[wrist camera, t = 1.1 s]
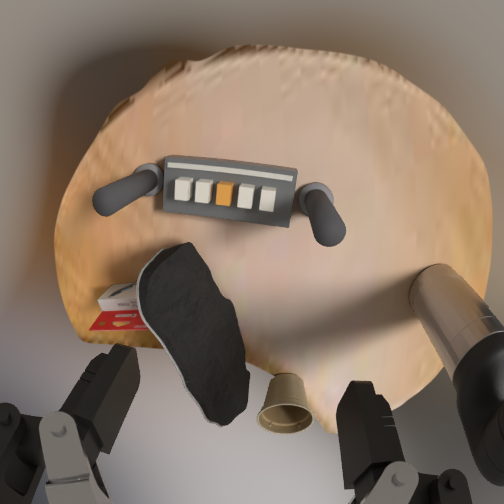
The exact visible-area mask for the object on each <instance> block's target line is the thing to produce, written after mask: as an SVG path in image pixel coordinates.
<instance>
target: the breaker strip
mask: <svg viewBox="0 0 504 504" xmlns="http://www.w3.org/2000/svg"><path fill="white" fill-rule="evenodd" d="M297 173H298V171H297V169H295V168H289V167H282V166H275V165H268V164H260V163H252V162H244V161H235V160H226V159H216V158H206V157H194V156H181V155H170V156H167V157H165V167H164V190H163V211H165V212H173V213H181V214H189V215H198V216H205V217H213V218H221V219H229V220H236V221H243V222H251V223H258V224H265V225H272V226H279V227H286V228H289V223H290V217H291V211H292V205H293V199H294V192H295V186H296V180H297Z"/></svg>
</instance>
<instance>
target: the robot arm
mask: <svg viewBox="0 0 504 504" xmlns="http://www.w3.org/2000/svg"><path fill="white" fill-rule="evenodd" d="M409 301H410V304H411V307H412V308H413V310H414V312H415V314H416V315H417V317H418V319H419V321H420V322H421V324H422V326H423V328H424V329H425V331H426V333H427V335H428V337H429V338H430V340H431V342H432V344H433V346H434V347H435V349H436V351H437V353H438V355H439V357H440V359H441V361H442V363H443V365H444V366H445V368H446V370H447V372H448V374H449V376H450V378H451V380H452V382H453V385H454V387H455V389H456V392H457V409H458V413H459V416H460V419H461V422H462V425H463V428H464V431H465V434H466V437H467V440H468V444H469V447H470V450H471V453H472V456H473V458H474V461H475V463H476V465H477V467H478V469H479V471H480V473H481V474H482V475H483V477H485V479H487V481H489V482H490V483H492V484H494V485H497V486H504V326H503V325H502V324H501V322H500V321H499V320H498V319H497V318H496V316H495V315H494V314H493V313H492V312H491V310H490V309H489V307H488V305H487V304H486V303H485V302H484V301H483V300H482V298H481V297H480V296H479V295H478V294H477V293H476V292H475V291H474V289H473V288H472V287H471V286H470V285H469V284H468V283H467V282H466V281H465V280H464V279H463V278H462V277H461V276H459V275H458V274H457V272H456V271H455V270H454V269H453V268H451V267H450V266H448V265H445V264H436V265H433V266H431V267H429V268H427V269H425V270H424V271H423V272H421V273H420V274H419V276H418V277H417V278H416V279H415V281H414V282H413V284H412V286H411V289H410V293H409ZM139 384H140V370H139V365H138V358H137V353H136V349H135V348H133V347H129V346H126V345H122V344H118V343H116V344H115V345H114V346H113V347H112V349H111V350H110V352H109V354H104V353H101V354H99V355H98V356H96V357H95V358H94V359H92V360H91V361H90V363H89V365H88V366H87V368H86V369H85V372H83V374H82V375H81V377H80V380H78V382H77V383H76V385H75V386H74V388H73V390H72V391H71V393H70V394H69V396H68V398H67V399H66V401H65V403H64V404H63V406H62V407H61V409H60V410H59V411H56V412H51V413H49V414H47V415H45V416H44V417H36V416H30V415H24V414H21V413H20V412H19V410H18V409H17V407H15V406H14V405H12V404H10V403H0V504H31V502H32V499H33V497H34V494H35V492H36V489H37V486H38V484H39V481H40V479H41V476H42V474H43V472H44V469H45V467H46V469H47V473H48V478H49V481H48V482H46V486H45V489H46V494H47V497H48V500H49V504H114V502H113V500H112V498H111V495H110V493H109V491H108V488H107V486H106V483H105V480H104V478H103V475H102V472H101V470H100V467H99V464H98V461H97V457H98V455H99V453H100V451H101V452H104V453H107V454H110V452H111V449H112V446H113V444H114V442H115V440H116V437H117V435H118V433H119V430H120V428H121V426H122V424H123V421H124V419H125V417H126V415H127V412H128V410H129V408H130V406H131V403H132V401H133V399H134V397H135V394H136V392H137V390H138V387H139ZM392 416H393V415H392V412H391V408H390V405H389V403H388V402H387V401H386V400H385V398H384V397H383V396H382V395H376V393H375V390H374V386H373V383H372V382H371V381H351V382H350V383H349V385H348V387H347V389H346V391H345V393H344V395H343V397H342V399H341V400H340V402H339V404H338V407H337V412H336V421H337V429H338V436H339V443H340V452H341V461H342V469H343V479H344V489H354V490H355V496H354V497H353V498H352V499H351V501H350V502H349V503H348V504H472V500H471V496H470V491H469V487H468V483H467V479H466V477H465V476H464V474H463V473H462V472H460V471H459V470H456V469H449V470H446V471H444V472H443V473H442V474H441V475H440V476H437V475H429V474H422V473H418V472H417V471H416V469H415V468H414V467H413V466H412V465H411V464H409V463H406V461H405V459H404V456H403V452H402V448H401V444H400V440H399V437H398V433H397V430H396V427H395V422H394V419H393V418H392Z"/></svg>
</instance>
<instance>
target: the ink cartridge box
mask: <svg viewBox="0 0 504 504" xmlns="http://www.w3.org/2000/svg"><path fill="white" fill-rule="evenodd" d="M136 286H137V282H135V283H125V284H115V285H111V286H110V287H109V288H108V289H107V290H106V291H105V292H104V293H103V294H102V295H101V296H100V298H99V299H98V300H97V301H98V303H99V306H100V308H101V310H102V313H101V314H100V315H99V317H98V318H97V319H96V321H95V322H94V323H93V325H92V326H91V328H90V329H89V331H121V330H150V329H149V328H148V327H147V326H146V324H145V323H144V321H143V320H142V318H141V316H140V313H139V310H138V304H137V297H136ZM113 322H131V323H130V324H127V325H124V326H121V327H117V326H115V325H112V324H113Z"/></svg>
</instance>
